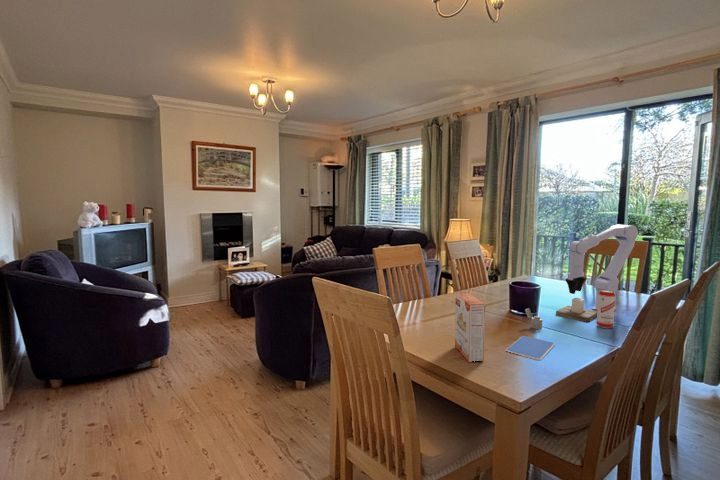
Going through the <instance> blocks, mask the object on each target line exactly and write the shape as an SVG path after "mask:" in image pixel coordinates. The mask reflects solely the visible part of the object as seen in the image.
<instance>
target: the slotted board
mask: <svg viewBox="0 0 720 480" xmlns="http://www.w3.org/2000/svg"><path fill="white" fill-rule="evenodd" d="M571 308H572V305H566V306H564V307H561V308H559V309H557V310H556V311H555V315H556V316H560V317H563V318H564V317H565V318H569V319H573V320H578V321H581V322H582V321H583V322H587V323H589V322H591V321H592V320H594V319H595V318H596V319H597V310H594V309H588V308H584V313H582V314H581V313H576V312H571Z"/></svg>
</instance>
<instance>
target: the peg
mask: <svg viewBox="0 0 720 480" xmlns="http://www.w3.org/2000/svg"><path fill="white" fill-rule="evenodd" d="M571 306H572V308H571V312H576V313H581V314H582V313H584V309H585V298H580V297H573V298H572V299H571Z"/></svg>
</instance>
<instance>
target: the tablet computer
mask: <svg viewBox="0 0 720 480" xmlns="http://www.w3.org/2000/svg"><path fill="white" fill-rule="evenodd" d="M555 346H556V343H555V342H553V341H548V340H545V339H543V340H542V339H538V338H535V337H531V336H527V335H526V336H525V335H522V336H520V337H519V338H518V339H517V340H515V341H514V342H513V343H512V344H511V345H509V347H507V348H506V349H505V352H506V351H508V352H507V353H509V352H511V353H510V354H512V353H515V354H514V355H516V354H518V355H517V356H520V355H521V357H525V358H528V359H533V360H536V361H542V360H543V359H544V358H545V357H546V356H547V355H548V353H549V352H550V351H551V350H552V349H553V348H554V347H555Z"/></svg>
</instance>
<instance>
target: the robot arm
mask: <svg viewBox="0 0 720 480" xmlns="http://www.w3.org/2000/svg"><path fill="white" fill-rule="evenodd" d="M638 236H639V231H638V228H637V227H636V225H633V224H629V225H628V224H621V223H616V224H614V225H611V226H610V227H609V228H607V229H605V230H603V231H601V232H600V233H598V234H587V236H585V237H583V238H579V239H578V240H573V241H572V242H571V243H569V245H568V250H569V253H570V263H569V264H570V265H569V272H566V273H567V274H566V275H568V277H567V278H565V282H566V284H567V286H568V287H567V288H568V293H569V294H573V295H575V294H576V292H581V291H582V288H583V286H584V283H585V281H586V279H587V277H586V276H585V272H584V262H585V254H586V253H587V251H588V250H589V249H591V248H594V247H596V246H598V245H599V244H600V242H602V241H604V240H606V239H610V238H612V237H614V238H615V239H616V241H617V242H618V244H619V246H618V248H617V250H616V252H615V253H614V254H613V255H612V258H611V260H610V262H609V264H608V266H607V267H606V269H605V271H603V272H602V273H600V274H599V275H597V277H596V278H595V279H594V280H593V283H592V284H593V288H594V289H595V291H596V292H595V303H594V304H595V305H594V306H593V307H592V308H591V310H594V311H597V308H598V294H599V292H600V290H612V291H614V294H615V293H616V292H617V291H618V287H619V283H620V280H619V278H618V276H619V274H620V272H621V270H622V269H623V267H624V265H625V263H626V261H627V259H628V258H629V256H630V255H631V252H632V251H633V249H634V247H635V243H636V239H637V237H638ZM616 309H617V308H616V307H615V310H616Z"/></svg>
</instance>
